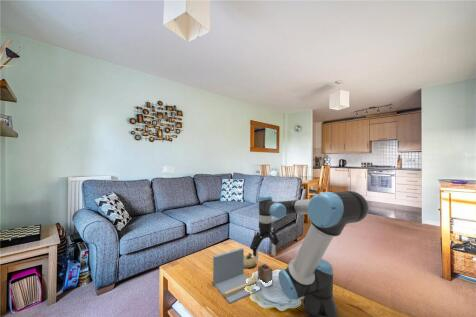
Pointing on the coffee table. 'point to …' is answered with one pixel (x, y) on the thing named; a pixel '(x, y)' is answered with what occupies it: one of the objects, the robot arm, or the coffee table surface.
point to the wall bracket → (231, 275)
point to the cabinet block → (264, 273)
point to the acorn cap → (249, 261)
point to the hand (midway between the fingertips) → (264, 258)
